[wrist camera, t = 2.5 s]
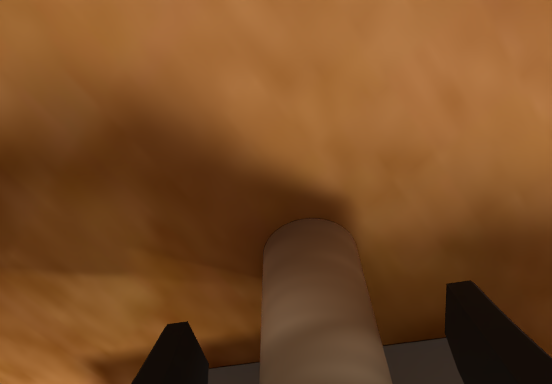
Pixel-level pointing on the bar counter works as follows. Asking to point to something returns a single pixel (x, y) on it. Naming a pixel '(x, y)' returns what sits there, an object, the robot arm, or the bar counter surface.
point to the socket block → (400, 359)
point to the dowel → (317, 310)
